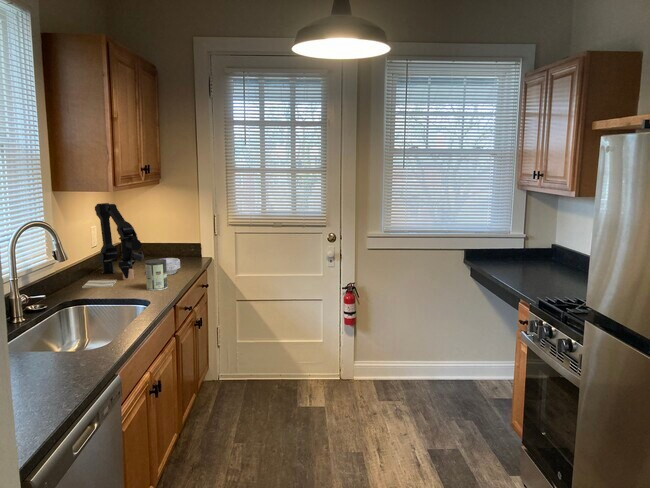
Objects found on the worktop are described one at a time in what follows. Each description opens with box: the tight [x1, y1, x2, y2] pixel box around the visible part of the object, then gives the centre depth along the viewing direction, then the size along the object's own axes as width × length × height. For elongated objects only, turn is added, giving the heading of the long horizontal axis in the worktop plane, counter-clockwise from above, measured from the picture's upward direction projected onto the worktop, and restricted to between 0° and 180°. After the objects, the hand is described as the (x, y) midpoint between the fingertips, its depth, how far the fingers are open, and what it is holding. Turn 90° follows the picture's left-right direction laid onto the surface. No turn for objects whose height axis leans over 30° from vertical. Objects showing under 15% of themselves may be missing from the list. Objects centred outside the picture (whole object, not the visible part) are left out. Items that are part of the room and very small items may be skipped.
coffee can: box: [144, 258, 168, 292], centre depth 260 cm, size 10×10×14 cm
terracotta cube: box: [122, 268, 135, 281], centre depth 282 cm, size 5×5×5 cm
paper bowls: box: [162, 257, 181, 276], centre depth 294 cm, size 15×15×8 cm
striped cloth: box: [81, 278, 118, 289], centre depth 269 cm, size 14×14×1 cm
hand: (128, 276), depth 282 cm, fingers open, 9 cm apart
